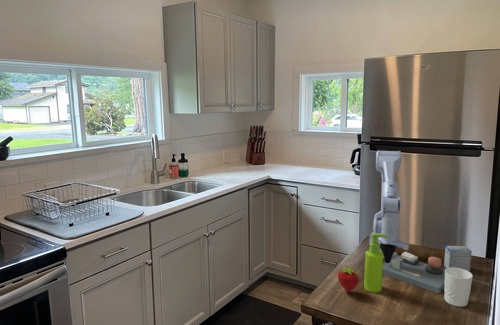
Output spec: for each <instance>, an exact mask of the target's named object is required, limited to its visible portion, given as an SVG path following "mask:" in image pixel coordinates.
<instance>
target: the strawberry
mask: <svg viewBox="0 0 500 325" xmlns="http://www.w3.org/2000/svg"><path fill="white" fill-rule="evenodd" d="M355 271H356V270H353V269H352V267H350V268H348V267H346V268H345V267H342V270H340V271H338V274H337V279H338V282H339V285H341V287H342V288H343V289H344V291H345V292H347V293H350V292H352V291H353V290H355V288H356V287H357V286H358V284H359V281H360V278H359V275H358V274H357V273H356V272H355Z"/></svg>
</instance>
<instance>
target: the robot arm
mask: <svg viewBox="0 0 500 325" xmlns="http://www.w3.org/2000/svg"><path fill="white" fill-rule="evenodd" d="M402 158H403V157H402V152H401V150H398V151H395V150H391V151H390V150H377V151H376V153H375V169H376V171H377V172H379V173H380V175H381V196H380V198H381V199H380V201H381V202H380V203H381V204H380V210H379V212H376V213H375V214H374V217H373V227H372V228H373V229H372V230H373V232H372V233H381V234H385V235H387V236H388V237H387V238H384V237H378V243H380V251H381V252H382V253H383V261H384V263H390V262H391V259H392V258H393V257H395V256H397V255H399V254H398V252H395V251H396V249H399V248H400V249H403V250H405V251H407V250H409V246H410V245H409V244H410V243H406V242H404V241H403V240H400V239H398V235H399V233H400V221H399V214H400V213H401V208H402V207H401V206H402V205H401V203H402V202H401V197H400V194H399V184H398V183H397V182H396V181H395V177H396V173H398V172H399V171H400V168H401V165H402ZM372 239H373V237H371V234H370V235H369V243H370V242H372ZM369 248H370V244H369Z"/></svg>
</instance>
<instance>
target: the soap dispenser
mask: <svg viewBox="0 0 500 325" xmlns="http://www.w3.org/2000/svg"><path fill="white" fill-rule="evenodd" d="M370 235H371V237H373V239H372V242H370V241H369V245H370V248H369V249H368V250H365V255H364V257H365V258H364V259H365V260H364V276H363V278H364V279H363V280H364V282H363V288H364V290H366V291H367V292H370V293H380V292H381V291H382V288H383V287H382V286H383V274H382V271H383V264H384V258H383V253H382V252H381V251H380V243H378V237H384V238H387V237H388V236H387V235H385V234H381V233H373V232H371V233H370Z"/></svg>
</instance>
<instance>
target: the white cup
mask: <svg viewBox="0 0 500 325" xmlns="http://www.w3.org/2000/svg"><path fill="white" fill-rule="evenodd" d="M473 276H474V275H473V274H472V272H470V271H467V270H464V269H460V268H447V269H446V268H445V282H444V286H445V287H444V288H443V290H444V296H443V297H444V301H445V302H446V303H448V304H449V305H452V306H455V307H459V308H460V307H461V308H463V307H466V306H468V304H469V299H470V294H471V288H472V282H473Z"/></svg>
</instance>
